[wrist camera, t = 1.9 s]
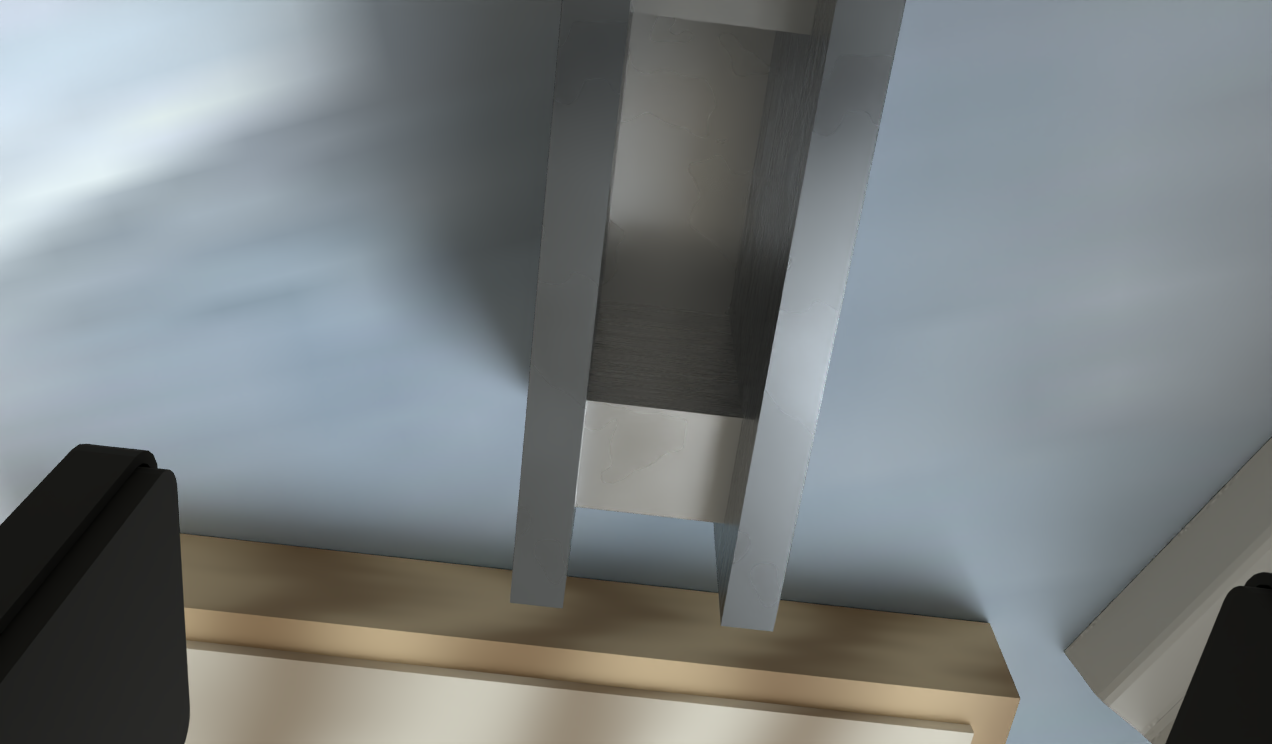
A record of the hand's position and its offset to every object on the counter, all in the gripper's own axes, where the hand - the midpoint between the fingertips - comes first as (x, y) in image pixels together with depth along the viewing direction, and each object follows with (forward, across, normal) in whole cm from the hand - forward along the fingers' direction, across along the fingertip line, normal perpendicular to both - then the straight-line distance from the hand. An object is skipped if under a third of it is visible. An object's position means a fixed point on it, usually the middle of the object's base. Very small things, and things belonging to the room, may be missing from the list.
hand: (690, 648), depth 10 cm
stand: (+18, +2, +18) cm, 25 cm away
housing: (+17, 0, 0) cm, 17 cm away
